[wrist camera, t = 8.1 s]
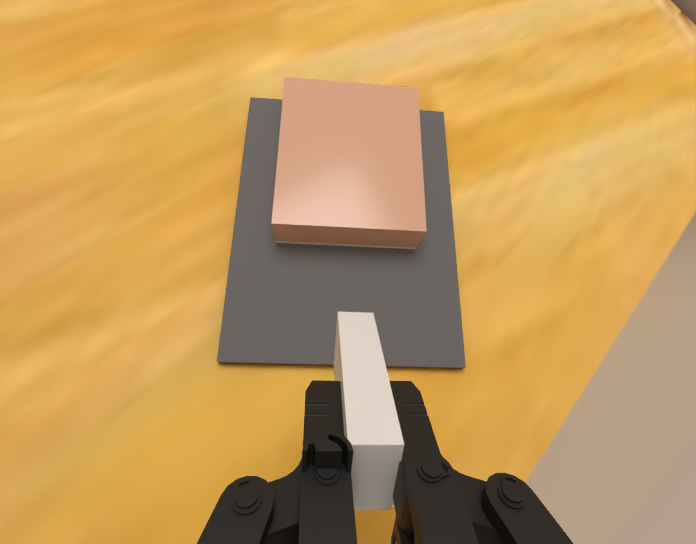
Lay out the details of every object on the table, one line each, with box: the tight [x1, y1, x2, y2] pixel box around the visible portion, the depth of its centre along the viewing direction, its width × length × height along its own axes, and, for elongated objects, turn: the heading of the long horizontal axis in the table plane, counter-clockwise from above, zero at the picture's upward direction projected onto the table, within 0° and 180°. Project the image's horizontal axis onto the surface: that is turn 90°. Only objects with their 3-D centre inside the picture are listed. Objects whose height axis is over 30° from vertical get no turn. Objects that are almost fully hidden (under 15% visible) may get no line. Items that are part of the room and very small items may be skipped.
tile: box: [271, 77, 427, 249], centre depth 28 cm, size 10×3×12 cm
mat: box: [217, 97, 466, 368], centre depth 28 cm, size 16×21×1 cm
